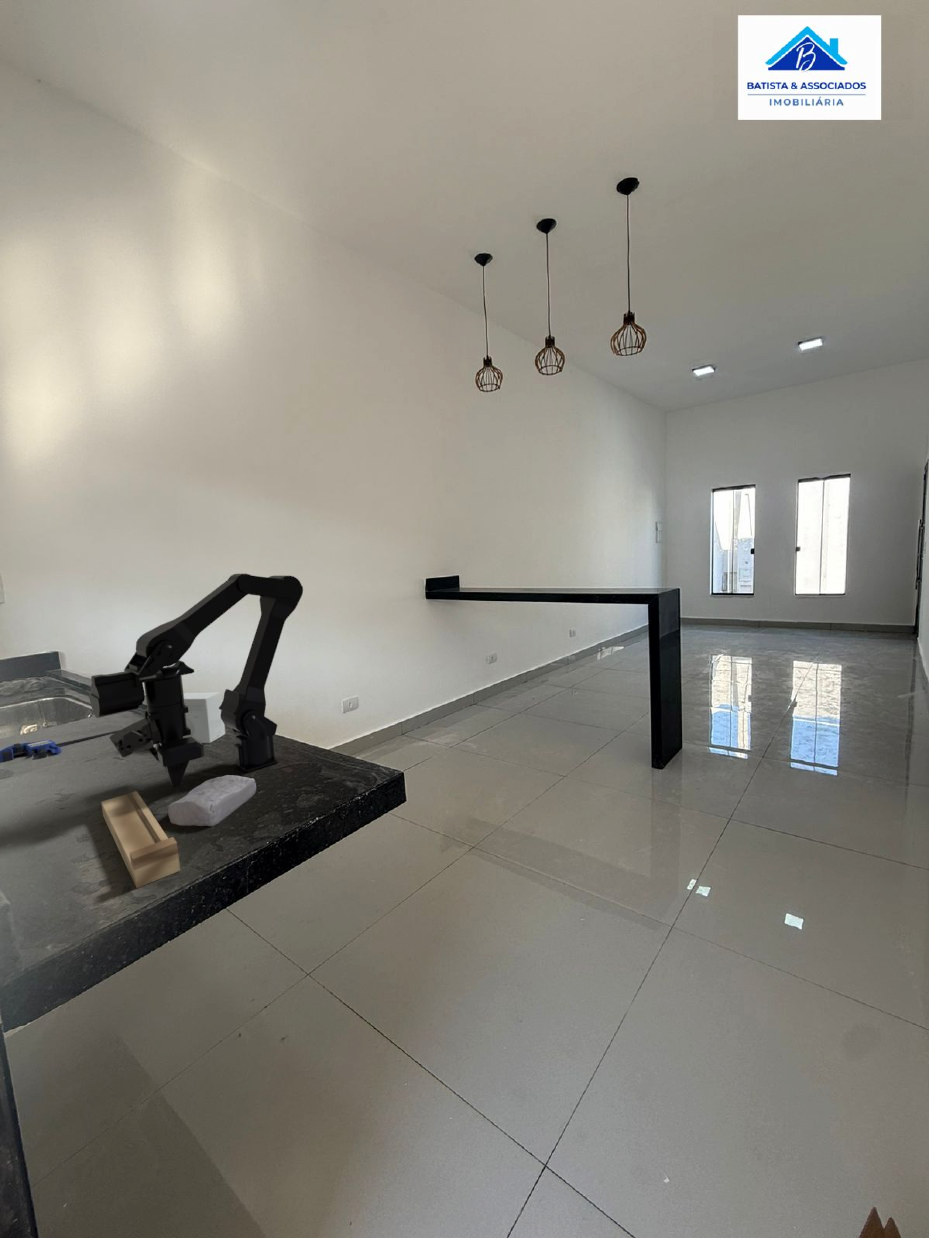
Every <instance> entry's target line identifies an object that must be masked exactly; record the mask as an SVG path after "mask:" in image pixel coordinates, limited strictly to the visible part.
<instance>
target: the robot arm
mask: <svg viewBox="0 0 929 1238" xmlns="http://www.w3.org/2000/svg"><path fill="white" fill-rule="evenodd" d="M303 592H304V587H303V585H302V583H301V581H300V580H299V578H297V577H296V576H293V575H271V576H268V577H267V576H258V575H251V574H249V573H234V574H232V575H230V576H229V577H228V579H227V580H225V582H223V583H222V584H220V585H219V586H218V587H216V588H215V589H214V590H212V591H211V592H210V593H209V594H207V595H206V596H204V597H203V598H202V599H201V600H200V601H198V602H197V603H195V604H194V605H193V606H191V607H190V608H189V609H188V610H187V611H185V612H184V613H182V614H181V615H179V616H178V617H176V618H174V619H172V620H169V621H167V622H165V623H163V624H160V625H158V626H156V627H155V628H152V629H149V631H147V632H145V633H143V634H141V636H139V638H138V639H137V641H136V642H135V643H136V644H135V652H134V654H133V655H132V657H131V658H130V660H129V662H128V663H127V664H126V666H125V668H124V669H123V671H120V672H114V673H109V674H101V673H100V674H95V675H92V676H91V677H90V678H91V684H90V693H89V694H88V695H89V696H88V697H89V703H90V707H91V710H92V712H93V715H94V717H95V718H96V719H99V718H104V717H108V716H112V715H117V714H121V713H127V712H131V711H136V710H138V709H139V707H140V706H142V705H143V704H144V703H143V702H144V701H145V702H146V708H145V709H144V711H143V718H142V719H140V720H138V721H136V722H133V723H131V724H129V725H127V726H126V727H123V728H121V729H119V730H120V731H118V730H117V731H118V732H116V733H113V734H110V736H109V740H110V742H111V743H112V744H113V745H114V747H115V749H116V750H117V751H118V753H119V755H120V756H121V758H127V757H129V756H130V755H132V754H133V752H135V751H137V750H139V749H141V748H142V747H144V746H146V745H148V744H149V743H150V742H151V744H152V745H153V747H150V748H149V749H148V752H149V753H150V754H151V755H152V756H153V757H154V758H155V760H156V761H157V762H159V763H160V764H161V766H162V767H163V768H164V770H165V772H166V774H167V777H168V780H169V782H170V785H171V787H172V788H177V787H180V786H181V784H182V780H183V778H184V775H185V773H186V769H187V768H188V765H189V762H190V761H193V760H197V759H200V758H203V757H204V756H205V748H204V743H200V742H199V741H198V740H196V739H195V738H193V737H188V738H183V736H188V735H191V729H190V728H189V727H187V719H186V713H188V712H189V711H188V707H187V706H186V705H185V702H184V694H183V693H184V688H183V679H182V678H183V677H182V676H185V675H190V674H193V673H195V669H193V668H192V667H190V666H188V665H187V664H186V663H185V662H184V661H182V660H181V658H182V657H183V656H184V655H185V654H186V653H187V651H189V649H191V647H192V645H193V643H194V641H195V640H196V638H197V637H198V636H199V635H200V633H202V632H203V631H204V630H205V629H207V627H209V626H210V625H212V624H213V623H214V622H215V621H216V620H218V619H219V618H221V616H223V615H224V614H225V613H226V612H228V611H229V610H231V608H233V607H234V606H235V605H236V604H237V603H239V602H240V601H242V599H244V598H245V597H246V596H248V595H251V596H256V597H257V596H259V607H260V613H261V614H260V618H259V621H258V624H257V628H256V630H255V634H254V636H253V640H252V643H251V645H250V649H249V652H248V655H247V659H246V662H245V665H244V668H243V670H242V671H243V672H242V675H241V676H240V681H239V682H238V683H237V685H236V686H235V687H234V689H233V690H231V689H229V688H226V689H225V691H224V692H223V693H224V694H223V699H222V704H221V705H220V707H219V709H220V710H221V719H222V721H223V723H224V725H225V726H227V727H229V728H230V729H231V731H232V733H234V734H237V735H235V742H236V743H234V744H233V749H234V750H233V751H234V762H235V765H237V766H238V767H239V768H240V769H242V770H243V771H244V772H247V773H249V772H251V771H255V770H258V769H261V768H264V767H268V766H271V765H274V764H277V763H279V759H278V758H277V757H276V755H275V744H274V736H275V735H276V732H277V729H278V724H277V723H275V722H274V721H273V720H271V719H270V718H268V717H267V716H265V713H266V708H267V707H266V706H267V701H266V694H265V693H266V692H265V686H266V684H267V680H268V677H269V674H270V671H271V668H272V665H273V661H274V657H275V654H276V652H277V649H278V645H279V643H280V642H279V641H280V638H281V636H282V633H283V629H284V625H285V623H286V621H287V619H288V618H289V617H290V616H291V615H292V613H293V612H294V611H295V610H296V609H297V606H298V605H299V603H300V600H301V598H302V596H303Z"/></svg>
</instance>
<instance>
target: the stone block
mask: <svg viewBox="0 0 929 1238" xmlns="http://www.w3.org/2000/svg"><path fill="white" fill-rule="evenodd" d="M256 790H257V783H256V780H255V779H254V778H250V777H245V776H240V775H233V774H232V775H229V774H226V775H223V776H218V777H214V778H210V779H207V780H205V781H204V782H202V783H201V784H199V785H197V786H195V787H194V788H193V789H191V790H190V791H189V792H188V793H187V794H186V795H185V796H184V797H182V798H180V799H179V800H176V801H173V802H172V803H170V804H169V805H168V808H167V815H168V818H169V821H170V823H171V824H173V825H178V826H197V827H199V826H200V827H204V826H205V827H214V826H217V824H219V823H221V822H222V821H223V820H225V819H226V818H228V817H229V815H231V814H232V813H234V812H235V811H236V810H237V809H238V808H240V807H241V806H243V804H245V803H247V802H248V801H249V800H250V799H251V798H252V797H253V796H254V795H255V794H256Z"/></svg>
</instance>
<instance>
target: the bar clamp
mask: <svg viewBox="0 0 929 1238" xmlns="http://www.w3.org/2000/svg"><path fill="white" fill-rule="evenodd" d="M120 730H121V729H118V730H114V731H110V732H105V733H101V734H96V735H91V736H87V737H82V738H78V739H73V740H69V741H64V742H60V743H56V742H55V741H53V740H49V739H45V740H39V741H33V742H24V743H14V744H12V745H9V746H8V747H5V748H3V749H1V750H0V763H5V762H10V761H13V760H15V759H14V757H15V756H17V757H22V756H24V754H26V755H28V756H29V757H32V756H37V755H38V756H37V757H38V758H39V759H45V758H47V757H48V756H49V755H48V754H49V753H48V752H51V754H57V755H60V754H61V753H62V748H61V747H60V746H63V745H68V744H73V743H77V742H83V741H86V740H91V739H95V738H99V737H105V736H109V735H113V734H114V733H116V732H118V731H120Z"/></svg>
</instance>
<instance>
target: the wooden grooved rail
mask: <svg viewBox="0 0 929 1238" xmlns="http://www.w3.org/2000/svg"><path fill="white" fill-rule="evenodd" d="M100 804H101V809H102V816H103V818H104V821H105V823H106V825H107V827H108V831H110V834H111V837H113V840H114V843H115V844H116V846H117V849H118V851H119V853H120V855H121V858H122V859H123V861H124V864H125V866H126V868H127V871H128V872H129V875H130V877H131V879H132V881H133V883H134V886H135V887H136V889H139V888H141V887H143V886H147V885H148V884H151V883H154V882H155V881H158V880H160V879H163V878H165V877H168V876H170V875H173V874H175V873H177V872H180V871H181V865H180V864H181V863H180V857H179V849H178V842H177V841H176V839H175V838H174V836H171V837H168V836H167V833H165V831H164V830H163V828H162V827H161V825H160V824H159V822H158V820H157V819H156V818H155V816H154V815H153V813H152V811H151V810H150V808H149V807H148V806H147V804H146V803H145V801H144V800H143V798H142V797H141V795H140V794H139V792H138V791H132V792H129V793H127V794H123V795H119V796H116V797H113V798H108V799H106V800H103V801H101V803H100Z"/></svg>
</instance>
